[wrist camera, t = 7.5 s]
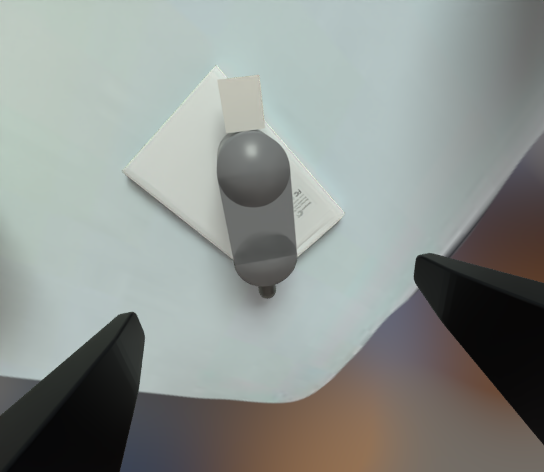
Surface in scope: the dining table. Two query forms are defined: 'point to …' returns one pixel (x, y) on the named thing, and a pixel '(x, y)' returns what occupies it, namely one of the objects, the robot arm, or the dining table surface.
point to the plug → (255, 189)
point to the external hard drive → (203, 172)
